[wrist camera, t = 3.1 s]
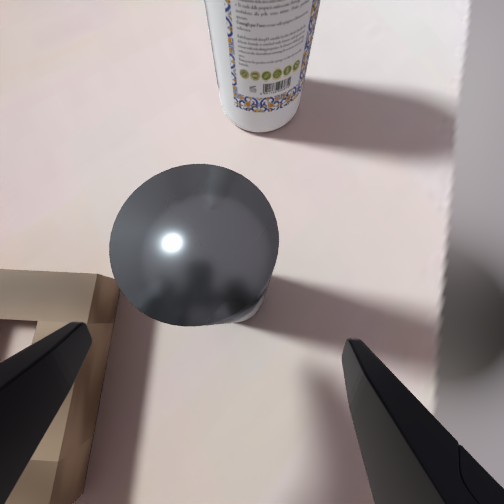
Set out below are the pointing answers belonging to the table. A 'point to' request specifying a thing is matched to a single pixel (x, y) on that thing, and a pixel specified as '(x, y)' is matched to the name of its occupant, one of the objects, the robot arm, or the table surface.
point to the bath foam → (261, 58)
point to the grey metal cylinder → (195, 246)
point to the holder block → (87, 381)
